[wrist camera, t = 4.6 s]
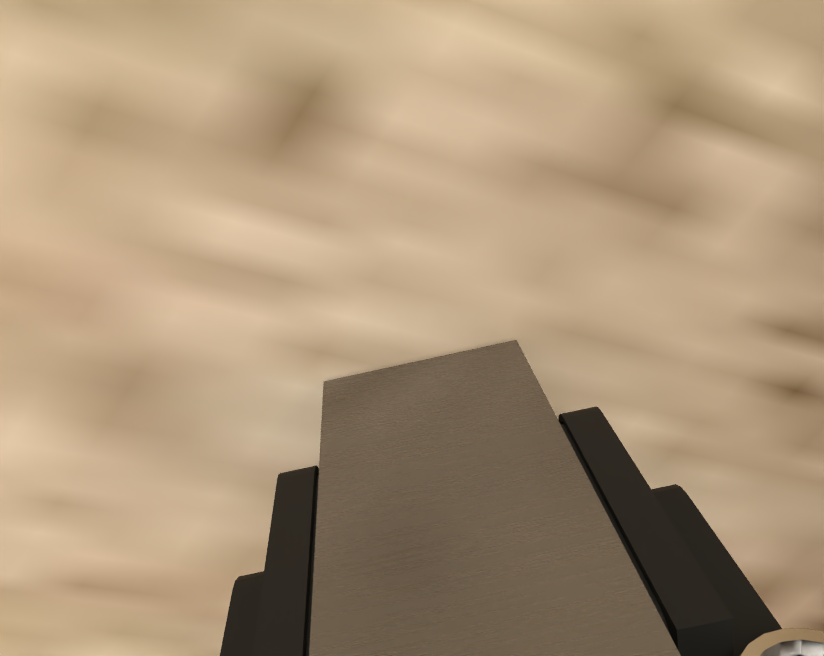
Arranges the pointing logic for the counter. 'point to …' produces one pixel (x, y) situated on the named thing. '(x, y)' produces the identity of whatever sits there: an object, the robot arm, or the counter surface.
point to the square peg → (465, 522)
